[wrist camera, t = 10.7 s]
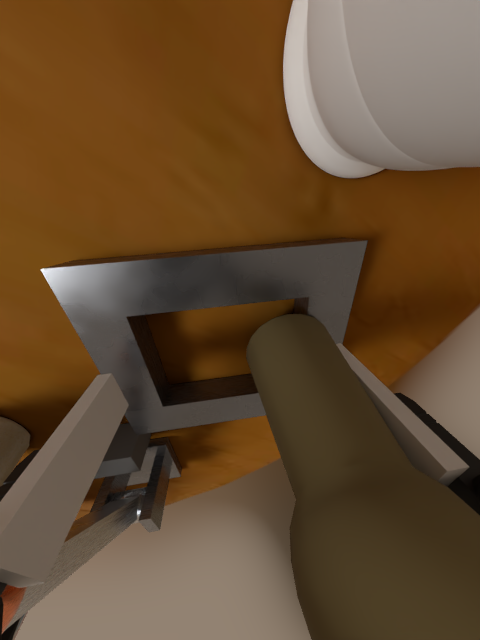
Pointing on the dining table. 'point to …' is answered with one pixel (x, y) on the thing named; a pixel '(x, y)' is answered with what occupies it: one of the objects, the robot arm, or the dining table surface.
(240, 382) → the grey rectangular frame
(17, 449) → the flower pot
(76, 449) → the robot arm
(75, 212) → the dining table surface
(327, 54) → the jar
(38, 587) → the lever handle
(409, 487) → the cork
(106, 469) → the rest stop
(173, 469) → the grey metal bracket
